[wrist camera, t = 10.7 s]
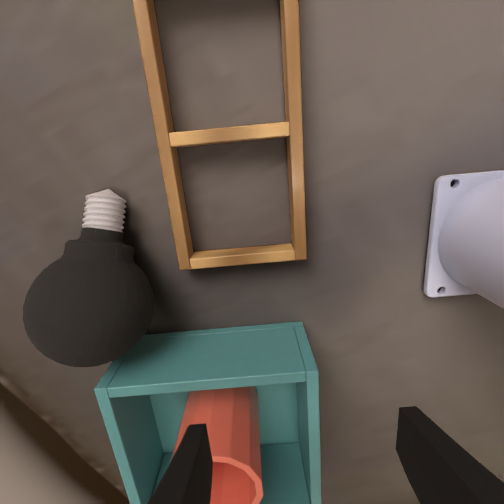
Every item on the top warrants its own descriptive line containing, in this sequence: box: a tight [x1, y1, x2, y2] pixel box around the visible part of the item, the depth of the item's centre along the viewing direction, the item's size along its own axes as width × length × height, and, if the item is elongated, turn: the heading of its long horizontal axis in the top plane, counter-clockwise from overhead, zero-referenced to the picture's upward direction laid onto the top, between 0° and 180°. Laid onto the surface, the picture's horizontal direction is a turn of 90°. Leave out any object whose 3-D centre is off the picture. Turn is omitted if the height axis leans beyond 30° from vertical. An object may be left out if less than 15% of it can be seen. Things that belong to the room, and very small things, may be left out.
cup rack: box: [132, 0, 307, 270], centre depth 16 cm, size 8×15×2 cm, turn 5°
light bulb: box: [23, 189, 154, 367], centre depth 17 cm, size 6×6×10 cm
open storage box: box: [94, 321, 321, 504], centre depth 20 cm, size 12×11×5 cm
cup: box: [170, 386, 263, 504], centre depth 19 cm, size 5×5×6 cm
